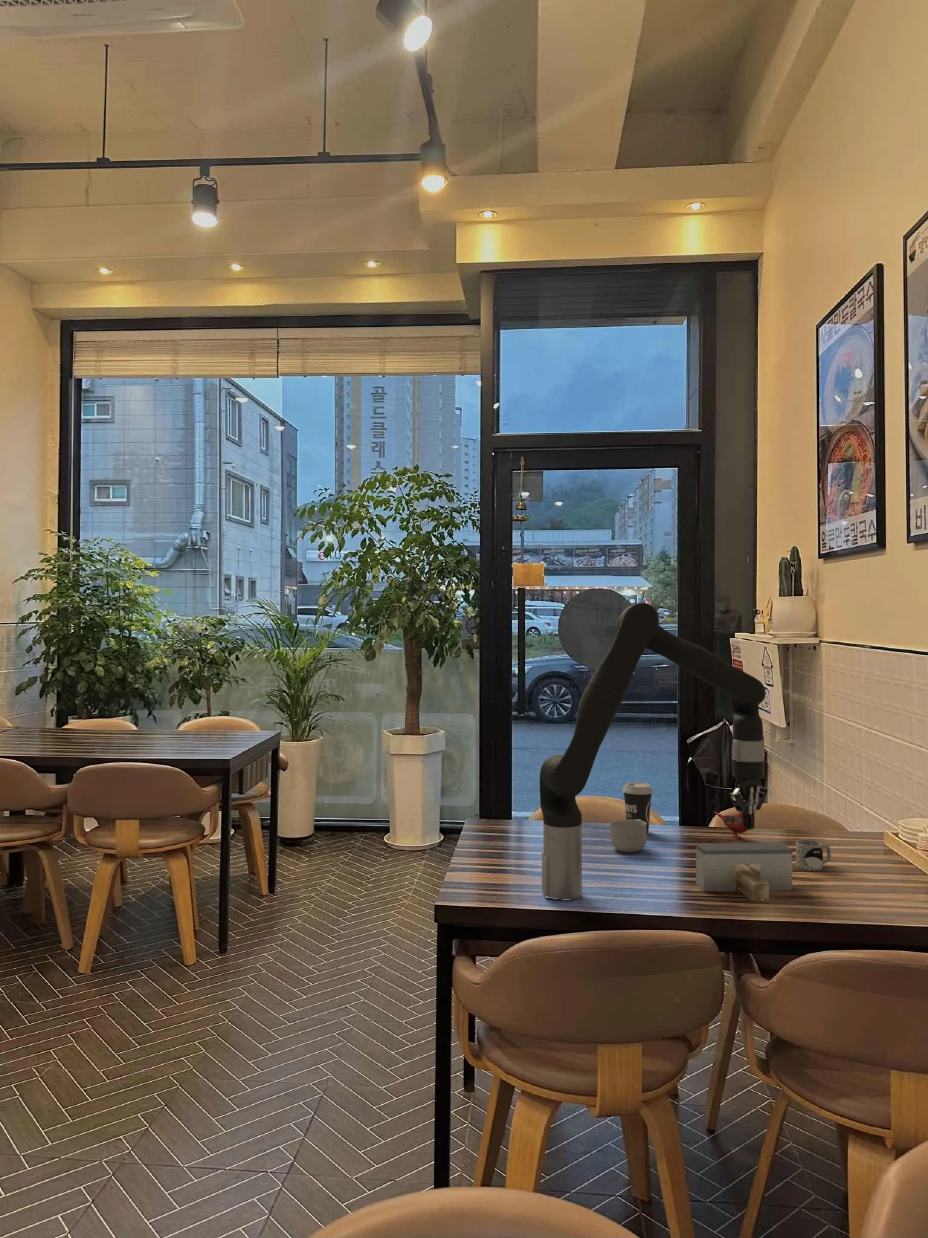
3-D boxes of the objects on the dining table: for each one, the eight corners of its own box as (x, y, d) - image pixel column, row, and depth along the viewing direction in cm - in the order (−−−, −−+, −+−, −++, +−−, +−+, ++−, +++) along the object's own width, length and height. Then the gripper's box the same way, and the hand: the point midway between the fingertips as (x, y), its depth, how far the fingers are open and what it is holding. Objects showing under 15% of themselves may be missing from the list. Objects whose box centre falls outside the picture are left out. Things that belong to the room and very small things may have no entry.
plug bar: (752, 901, 191) (752, 884, 191) (719, 873, 213) (719, 857, 213) (769, 900, 191) (768, 883, 192) (734, 872, 213) (734, 857, 214)
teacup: (631, 857, 228) (631, 828, 228) (601, 849, 236) (601, 822, 236) (660, 848, 237) (660, 821, 237) (630, 841, 245) (630, 814, 245)
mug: (807, 872, 214) (807, 847, 214) (790, 865, 221) (790, 840, 221) (839, 869, 217) (838, 844, 217) (821, 862, 223) (821, 838, 223)
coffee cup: (630, 827, 263) (629, 781, 263) (658, 831, 257) (657, 784, 257) (617, 833, 255) (617, 785, 255) (645, 837, 249) (645, 789, 249)
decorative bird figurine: (750, 844, 242) (750, 810, 242) (709, 831, 258) (709, 799, 258) (758, 843, 243) (757, 810, 243) (717, 830, 259) (716, 798, 259)
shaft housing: (704, 891, 198) (704, 850, 198) (695, 883, 204) (695, 843, 204) (792, 890, 199) (792, 849, 199) (781, 882, 205) (780, 842, 205)
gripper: (751, 753, 206) (751, 822, 206) (718, 758, 198) (718, 829, 198) (777, 757, 200) (778, 828, 200) (744, 762, 192) (745, 836, 192)
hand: (748, 828), depth 199 cm, fingers closed
